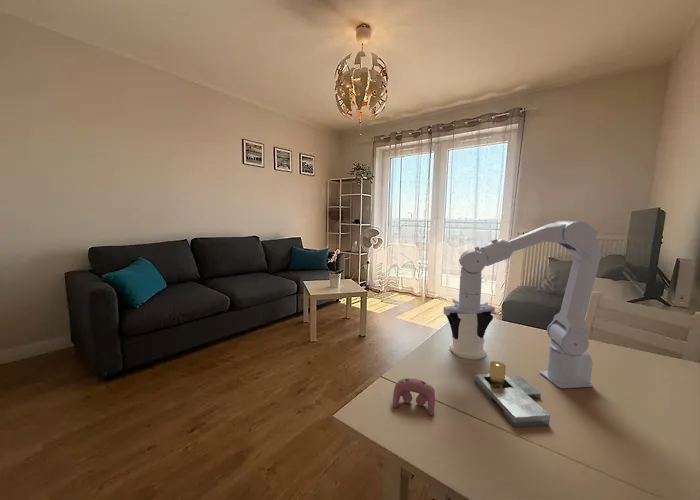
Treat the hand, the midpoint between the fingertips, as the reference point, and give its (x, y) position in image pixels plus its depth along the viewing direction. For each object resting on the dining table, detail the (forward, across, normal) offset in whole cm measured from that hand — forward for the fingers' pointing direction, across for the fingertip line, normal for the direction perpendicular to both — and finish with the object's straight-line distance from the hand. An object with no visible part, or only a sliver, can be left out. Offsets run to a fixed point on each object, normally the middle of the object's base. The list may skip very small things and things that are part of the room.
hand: (467, 337), depth 86 cm
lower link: (+10, -5, +11) cm, 16 cm away
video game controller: (+10, +21, +15) cm, 27 cm away
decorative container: (+10, -6, -11) cm, 16 cm away
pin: (+10, -3, +11) cm, 15 cm away
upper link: (+10, -3, +16) cm, 19 cm away
